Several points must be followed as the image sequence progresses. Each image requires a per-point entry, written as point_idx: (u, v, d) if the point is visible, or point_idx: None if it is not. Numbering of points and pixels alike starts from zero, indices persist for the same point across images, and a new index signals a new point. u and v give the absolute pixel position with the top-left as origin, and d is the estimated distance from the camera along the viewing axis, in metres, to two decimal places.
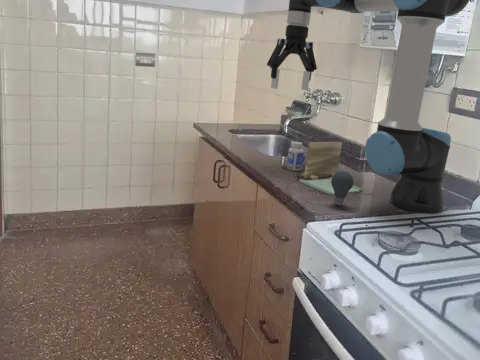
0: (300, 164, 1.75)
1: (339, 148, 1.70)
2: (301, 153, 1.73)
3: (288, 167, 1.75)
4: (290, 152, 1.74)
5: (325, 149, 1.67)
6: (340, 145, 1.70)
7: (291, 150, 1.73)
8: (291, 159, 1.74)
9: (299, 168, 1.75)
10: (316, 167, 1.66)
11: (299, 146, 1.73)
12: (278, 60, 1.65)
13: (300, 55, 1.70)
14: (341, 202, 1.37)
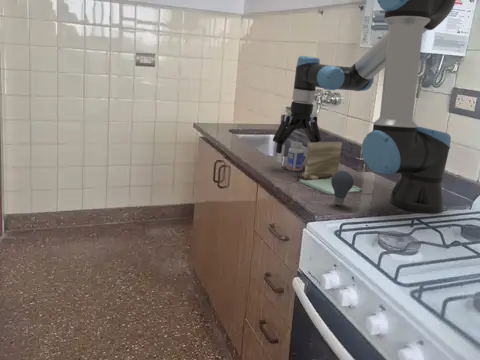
0: (300, 164, 1.75)
1: (339, 148, 1.70)
2: (301, 153, 1.73)
3: (288, 167, 1.75)
4: (290, 152, 1.74)
5: (325, 149, 1.67)
6: (340, 145, 1.70)
7: (291, 150, 1.73)
8: (291, 159, 1.74)
9: (299, 168, 1.75)
10: (316, 167, 1.66)
11: (299, 146, 1.73)
12: (283, 136, 1.70)
13: (305, 129, 1.75)
14: (341, 202, 1.37)
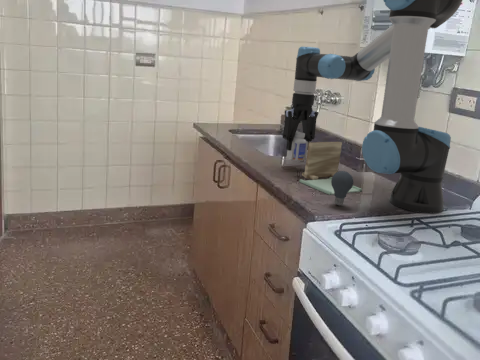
0: (303, 154, 1.73)
1: (339, 148, 1.70)
2: (303, 143, 1.72)
3: None
4: None
5: (325, 149, 1.67)
6: (340, 145, 1.70)
7: (293, 140, 1.72)
8: None
9: (302, 159, 1.73)
10: (316, 167, 1.66)
11: (301, 136, 1.71)
12: (291, 132, 1.71)
13: (303, 122, 1.74)
14: (341, 202, 1.37)
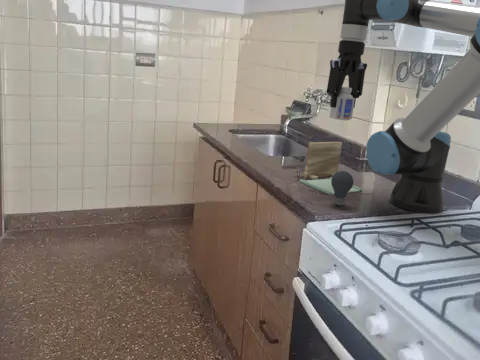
0: (349, 112, 1.50)
1: (339, 148, 1.70)
2: (350, 99, 1.49)
3: None
4: None
5: (325, 149, 1.67)
6: (340, 145, 1.70)
7: (339, 96, 1.49)
8: None
9: (348, 117, 1.50)
10: (316, 167, 1.66)
11: (348, 91, 1.48)
12: (337, 86, 1.47)
13: (350, 75, 1.50)
14: (341, 202, 1.37)
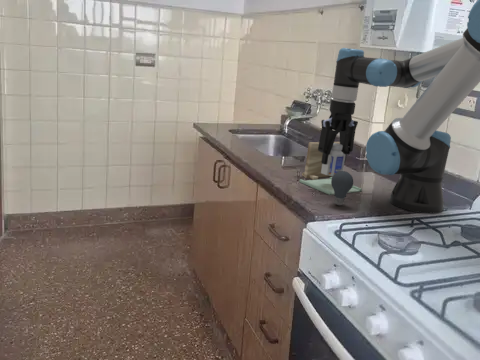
0: (339, 169, 1.54)
1: None
2: (341, 156, 1.53)
3: None
4: None
5: None
6: None
7: (330, 153, 1.53)
8: None
9: None
10: (316, 167, 1.66)
11: (339, 148, 1.53)
12: (328, 144, 1.52)
13: (341, 132, 1.55)
14: (341, 202, 1.37)
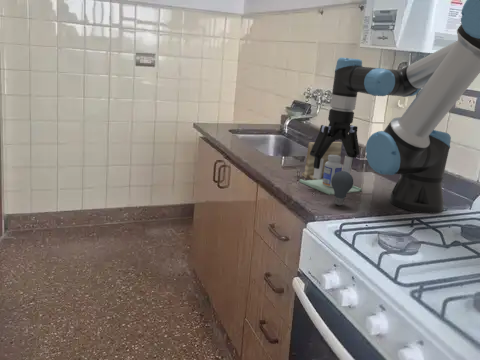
0: None
1: (339, 148, 1.70)
2: (340, 168, 1.54)
3: (325, 183, 1.56)
4: (327, 167, 1.54)
5: None
6: (340, 145, 1.70)
7: (328, 164, 1.54)
8: (328, 175, 1.55)
9: None
10: None
11: (337, 160, 1.54)
12: (322, 149, 1.51)
13: (343, 140, 1.56)
14: (341, 202, 1.37)
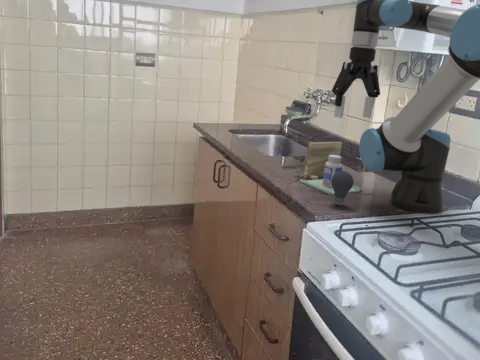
0: None
1: (339, 148, 1.70)
2: (340, 168, 1.54)
3: (325, 183, 1.56)
4: (327, 167, 1.54)
5: (325, 149, 1.67)
6: (340, 145, 1.70)
7: (329, 165, 1.54)
8: (328, 175, 1.55)
9: None
10: (316, 167, 1.66)
11: (338, 160, 1.54)
12: (344, 86, 1.47)
13: (364, 80, 1.53)
14: (341, 202, 1.37)
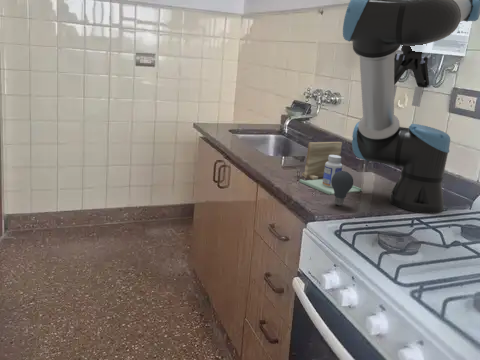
0: None
1: (339, 148, 1.70)
2: (340, 168, 1.54)
3: (325, 184, 1.56)
4: (327, 167, 1.54)
5: (325, 149, 1.67)
6: (340, 145, 1.70)
7: (328, 165, 1.54)
8: (328, 175, 1.55)
9: None
10: (316, 167, 1.66)
11: (338, 160, 1.54)
12: (395, 76, 1.59)
13: (414, 70, 1.64)
14: (341, 202, 1.37)
